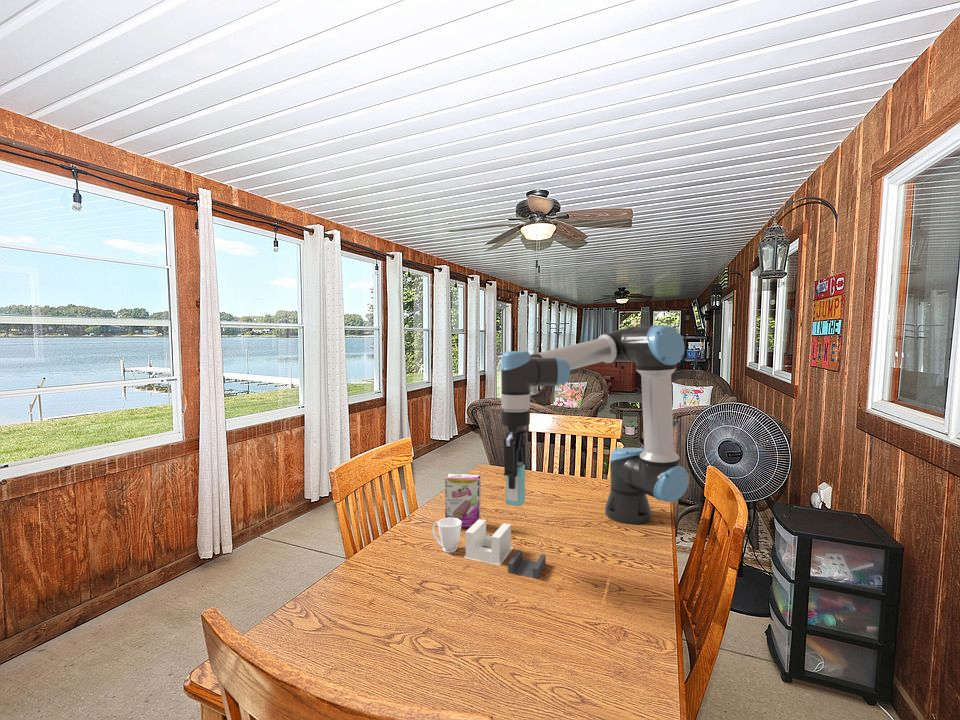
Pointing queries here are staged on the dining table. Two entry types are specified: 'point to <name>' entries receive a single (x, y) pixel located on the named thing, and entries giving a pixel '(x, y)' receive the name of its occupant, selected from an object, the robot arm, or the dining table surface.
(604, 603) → the dining table surface
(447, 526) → the cup
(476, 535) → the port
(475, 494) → the candy bar box
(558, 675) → the dining table surface
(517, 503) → the plug
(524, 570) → the holster
